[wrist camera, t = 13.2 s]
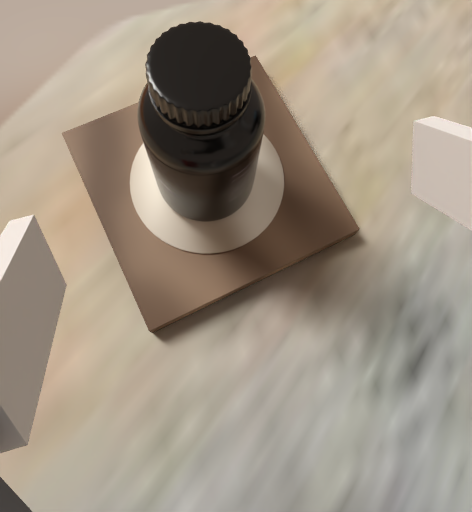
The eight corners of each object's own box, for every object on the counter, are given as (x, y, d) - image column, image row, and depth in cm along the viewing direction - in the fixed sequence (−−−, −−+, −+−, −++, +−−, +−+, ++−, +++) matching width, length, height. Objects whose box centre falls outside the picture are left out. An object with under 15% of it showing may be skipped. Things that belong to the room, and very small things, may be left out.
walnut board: (254, 66, 35) (255, 54, 33) (353, 234, 31) (360, 228, 30) (68, 142, 33) (60, 132, 31) (152, 332, 29) (148, 330, 28)
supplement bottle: (140, 200, 30) (89, 91, 18) (185, 123, 32) (164, -21, 20) (229, 241, 29) (233, 154, 18) (269, 160, 31) (298, 34, 20)
